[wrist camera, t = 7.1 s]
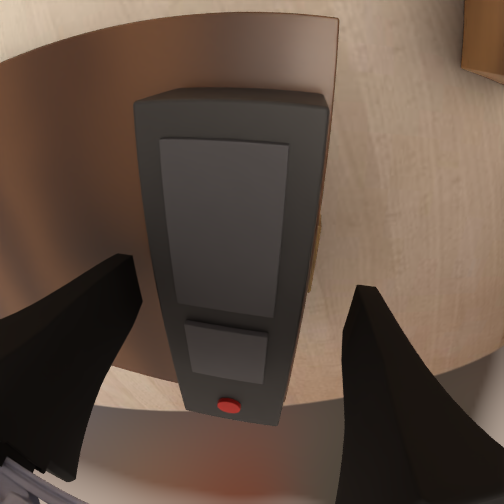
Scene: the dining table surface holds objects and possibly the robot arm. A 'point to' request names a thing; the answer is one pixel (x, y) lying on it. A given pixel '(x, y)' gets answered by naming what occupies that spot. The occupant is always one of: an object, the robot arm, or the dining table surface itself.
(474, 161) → the dining table surface
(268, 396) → the remote
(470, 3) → the stand
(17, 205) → the box
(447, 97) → the dining table surface
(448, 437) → the robot arm
